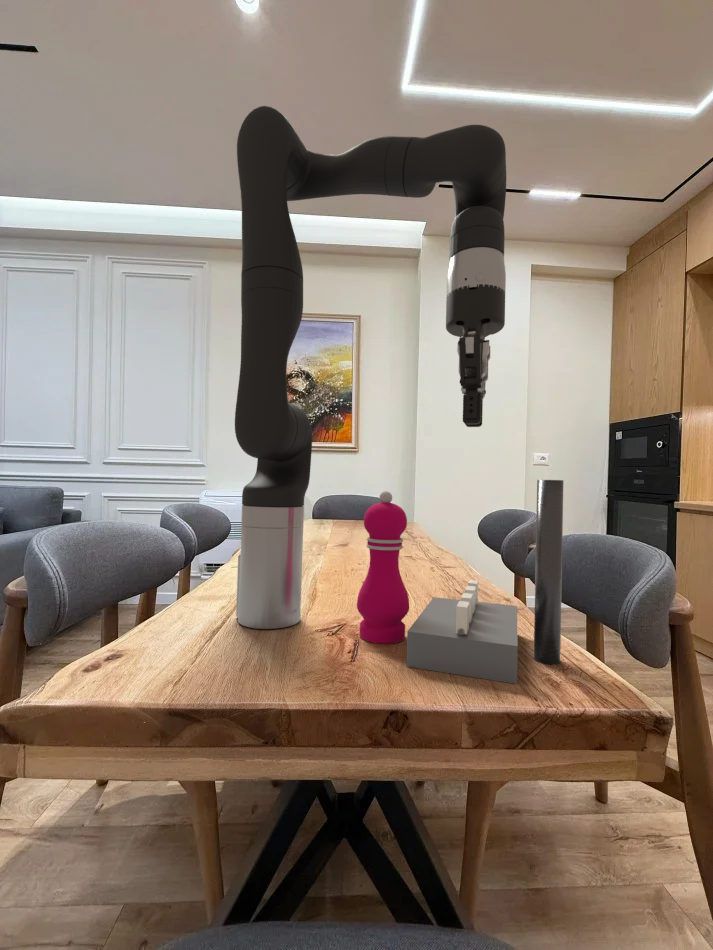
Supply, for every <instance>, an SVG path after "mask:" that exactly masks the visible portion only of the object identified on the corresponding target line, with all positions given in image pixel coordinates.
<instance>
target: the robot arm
mask: <svg viewBox="0 0 713 950" xmlns="http://www.w3.org/2000/svg"><path fill="white" fill-rule="evenodd" d="M506 153H507V152H506V145H505V141H504V139H503V136H502V135H501V134H500V132H498V131H497V130H495V128H491V127H490V126H488V125H487V126H486V125H483V124H466V125H463V126H459V127H456V128H452V129H447V130H444V131H441V132H437V133H434V134H432V135H431V134H430V135H428V136H424V137H423V136H405V135H403V136H401V135H397V136H396V135H383V136H377V137H372V138H370V139H366V140H364V141H363V142H361V143H359V144H357V145H355V146H354V147H352V148H350V149H349V150H346V151H345V152H341V153H338V154H323V153H319V152H314V151H310V150H307V148H306V146H305V145H304V143H303V141H302V140H301V138H300V136H299V134H298V133H297V132H296V130H295V128H294V126H293V124H292V123H291V122H290V121H289V120H288V118H287V117H286V116H285V115H284V114H283V113H282V112H281V111H280V110H278V109H276V108H274V107H272V106H267V105H261V106H258V107H256V108H254V109H252V110H251V111H250V112H249V113H248V114H247V115H246V116H245V118H244V120H243V122H242V123H241V125H240V128H239V131H238V135H237V138H236V164H237V172H238V173H237V174H238V182H239V191H240V192H239V194H240V204H241V205H240V206H241V272H240V274H241V276H240V277H241V279H240V282H241V283H240V284H241V285H240V287H241V288H240V299H241V300H240V303H241V304H240V306H241V307H240V308H241V324H240V325H241V329H240V331H241V332H240V364H239V365H240V367H239V376H238V377H239V378H238V386H237V392H236V393H237V394H236V403H235V411H234V433H235V437H236V441H237V443H238V445H239V447H240V448H241V450H242V451H243V452H244V453H245V454H247V455H248V456H250V457H252V458H254V459H257V461H256V463H257V464H256V471H255V474H254V477H253V478H252V480H251V481H250V482H249V483H247V484H246V485H244V487H243V489H242V494H241V529H240V530H241V532H240V534H241V535H240V554H239V555H238V557H237V583H236V609H235V616H236V618H237V622H238V624H240V625H241V626H243V627H248V628H250V629H257V630H258V629H260V630H273V629H282V628H287V627H291V626H294V625H296V624H298V623H299V622H300V620H301V610H302V609H301V607H302V603H301V602H302V585H303V584H302V583H303V582H302V580H303V577H302V576H303V552H304V550H303V548H304V546H303V545H304V516H305V515H304V511H305V495H306V493H307V491H308V488H309V484H310V478H311V465H312V463H311V462H312V451H313V450H312V449H313V431H312V424H311V421H310V418H309V416H308V415H307V413H306V412H305V411H304V410H303V409H302V408H300V407H299V406H297V405H295V404H293V403H290V402H289V398H288V390H287V389H288V386H287V385H288V383H287V369H288V367H287V366H288V358H289V354H290V350H291V349H292V348H291V347H292V345H293V343H294V342H295V341H294V340H295V338H296V335H297V334H298V331H299V328H300V326H301V323H302V318H303V311H304V273H303V271H304V270H303V264H302V259H301V254H300V250H299V247H298V246H299V245H298V243H297V238H296V234H295V231H294V227H293V223H292V220H291V215H290V211H289V206H288V202H295V201H302V200H303V201H304V200H311V199H321V198H328V197H329V198H330V197H331V198H332V197H339V196H340V197H342V196H351V195H376V196H377V195H379V196H389V197H402V198H403V197H404V198H413V199H417V198H426V197H427V196H429V195H430V194H431V193H432V192H433V191H434V188H435V187H436V184H438V183H443V182H450V183H451V184H452V189H453V195H454V196H453V197H454V219H453V221H452V224H451V226H450V234H449V256H448V257H449V259H448V260H449V262H448V263H449V264H448V271H447V277H446V301H445V302H446V303H445V304H446V305H445V306H446V309H445V329H446V331H447V332H448V333H449V334H450V335H452V336H455V337H458V338H459V340H458V341H457V349H456V351H457V355H458V374H459V377H460V378H459V384H460V391H461V394H462V397H463V398H462V422H463V424H464V425H465V426H466V427H467V428H481V427H482V426H483V410H484V409H483V405H484V404H483V403H484V399H485V396H486V394H487V391H486V382H487V381H488V380H489V362H490V359H491V345H490V340H489V339H486V337H488V336H490V335H495V334H497V333H500V332H501V331H502V330H503V328H504V327H505V325H506V324H505V322H506V283H507V282H506V280H507V279H506V267H505V266H506V265H505V237H506V236H505V222H504V217H505V210H506V209H505V208H506V196H507V195H506V194H507V161H506V160H507V155H506Z"/></svg>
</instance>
